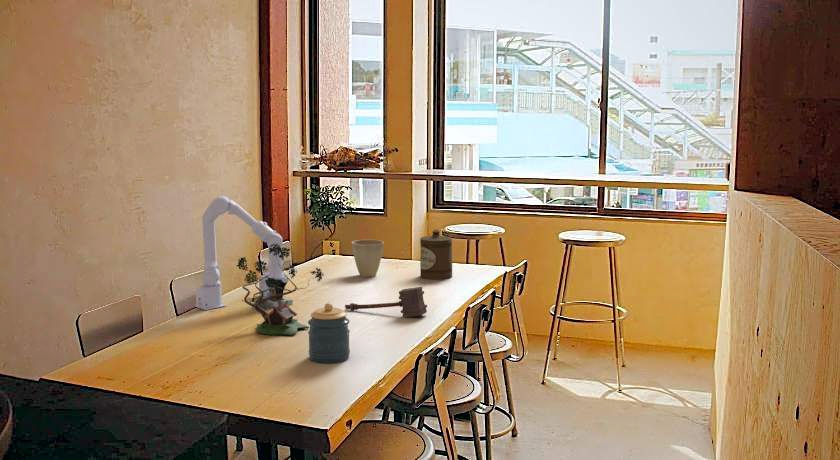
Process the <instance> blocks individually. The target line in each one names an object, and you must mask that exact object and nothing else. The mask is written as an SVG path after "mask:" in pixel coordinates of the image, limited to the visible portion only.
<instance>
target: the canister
mask: <svg viewBox="0 0 840 460" xmlns="http://www.w3.org/2000/svg"><path fill="white" fill-rule="evenodd" d="M347 315H348V313H347V312H346V311H345V310H343V309H341V308H338V307H334V306H333V304H332V303H330V302H327V303H325V304H324V306H323V307H319V308H317V309H315V310H314V311H313V312H311V313H310V317H311V318H310V319H309V320H307V324H308V325H309V330H308V357H309V360H310V361H312V362H315V363H318V364H319V363H322V364H335V363H340V362H343V361H346V360H348V359H349V358H350V354H351V351H350V350H351V349H350V332H351V331H350V329H349V323H350V319H349V318H347V317H346V316H347Z"/></svg>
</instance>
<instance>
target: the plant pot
mask: <svg viewBox="0 0 840 460" xmlns="http://www.w3.org/2000/svg"><path fill="white" fill-rule="evenodd" d="M384 245H385V242H384V241H383V240H379V239H359V240H358V239H357V240H353V241H351V248H352V253H353V259H354V263H355V266H356V268H357V272H358V274H359V276H360V277H361V278H374V277H376V276H377V273H378V271H379V268H380V264H381V261H382V256H383V251H384Z"/></svg>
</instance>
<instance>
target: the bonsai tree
mask: <svg viewBox="0 0 840 460" xmlns="http://www.w3.org/2000/svg"><path fill="white" fill-rule="evenodd" d="M273 245H274V247H273V249H272V248H269V247H268V253H272V252H274V255H275V253H276V255H277V253H278V254H280V252H281V254H280V255H278V256H279V258H282V260H283V261H285V258H286V259H288V257H290V252H289V251H291V248H288V247H283V246H282V248H280V245H278V244H277V243H276V244H271V247H272V246H273ZM278 246H279V247H278ZM274 249H275V250H274ZM277 250H278V251H277ZM269 251H270V252H269ZM276 258H277V257H276ZM247 262H248V260H247V259H246V256H244V257H239V259H238V260H237V264H236V265H235V266H236V267H238V269H239V270H242V271H245V272H248V273H247V274H245V277H244V282H245V283H246V284H244V285H242V289H243V290H244V291H247V293H246V294H245V296H244V299H243V300H244V302H245V304H247V305H249V306H251V307H252V309H254V311H255V310H256V311H257V312H258V313H259V314H260V315H261V317H262V318H263V320H264V321H263V322H261V323H257V324H256V328H255V329H256V331H257V333H259V334H261V335H267V336H287V337H289V336H290V337H293V336H295V334H297V333H298V330H301V329H302V330H303V329H310V326H308V325H306V324H302V323H300V322H298V319H297V318H296V319H295V318H294V317H296V316H297V315H298V313H297V312H296V311H295V310H293V309H292V308H291V307H290V306H289V305H287V303H288V301H287V300H286V302H285V303H284V304H283V305H282V303H283V301H277V303H278V307H276V306H275V307H274V306H273V308H272V310H271V311H270V312H268V311H266V310H264V309H262V308H261V307H259V304H262V303H263V304H264V302H265V301H267V300H270V299H273V298H276V297H279V296H283V297H284V296H285V295H289V294H292V293H294V292H296V291H298V290H303V289H307V288H308V287H309V285H310V283H307V285H306V287H301V288H297V287H298V286H297V285H296V284H295V283H294V282H292V279H294V278H295V277H296V274H297V273H298V271H297V268H296V266H294V265H292V264H287V265H288V266H289V267H285V268H284V267H283V268H281V267H280V268H281V269H282V271H283V273H284V274H285V276H286V277H287V278H288V281H289V282H290V283H291V284H292V285H293V286H294V289H292V290H291V289H287V288H280V287H278V286H277V284H278V285H279V284H281V283H279V281H278V279H277V280H274V279H275V278H274V279H273V278H272V279H271V281H267V284H268V283H269V284H270V285H269V286H270V288H268V289H266V290H264V291H262V290H260V289H259V286H257V284H259V281H261V280H262V279H261V280H259V277H257V272H258V273H259V274H260V273H261V271H262V272H264V271H265V272H267V271H269V268H268V269H267V268H266V265H267V264H268V263H267V262H265V261H264V260H263V261H262V260H259V261H258V260H257V261H256V262H254V269H255V271H252V270H251V269H249V268H248V263H247ZM287 262H289V260H287V261H286V263H287ZM293 262H295V263H296V262H299V261H298V260H297V261H296V260H295V261H294V260H293ZM278 263H279V262H278ZM249 265H252V264H251V263H249ZM279 265H280V264H279ZM314 268H315V270H312V271H310V273H311V275H312V276H313V275H314V278H311V279H310V280H309V279H307V281H308V282H310V281H311V280H314V279H316V281H317V282H318V283H319V282H320V281H321V280H323V277H324V275H325V274H324V272H323V271H322V269H320V268H319V267H314ZM248 269H249V270H248ZM285 272H288V273H287V274H286V273H285ZM269 275H270V274H269ZM269 275H268V274H267V276H269ZM267 276H266V277H267ZM288 276H290V278H289V277H288ZM266 277H265V278H266ZM263 279H264V278H263ZM275 282H277V283H275ZM252 285H254V286H255V289H257V290H258V291H260V292H256V293H254V294H253V295H252V299H251V300H250V301H249V300H248V297H249V295H250V294H251V291H250V290H249V288H247V287H248V286H252ZM274 285H275V286H274ZM281 285H282V284H281ZM266 286H268V285H266ZM272 286H274V287H276V288H275V289H276V290H278V289H277V288H280V289H284V291H286V292H283V293H281V294H277V295H275V294H274V291H275V289H274V290H273V288H274V287H273V288H272ZM269 289H271V290H272V293H273V296H269V297H263V295H264V294H263V292H265V291H267V290H269ZM260 293H262V295H261V296H259V297H258V296H257V297H256V295H259V294H260ZM262 298H264V299H262Z"/></svg>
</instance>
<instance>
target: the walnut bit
mask: <svg viewBox="0 0 840 460" xmlns="http://www.w3.org/2000/svg"><path fill="white" fill-rule="evenodd" d="M272 288H273V287H272ZM274 289H275V287H274V288H273V290H274ZM274 294H275V295H276V290H275V291H274ZM271 296H273V293H272V290H271ZM283 297H284V295H283V296H282V298H280V299H277V297H276V298H273V299H271V301H274V302H276V301H281V300H283Z"/></svg>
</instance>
